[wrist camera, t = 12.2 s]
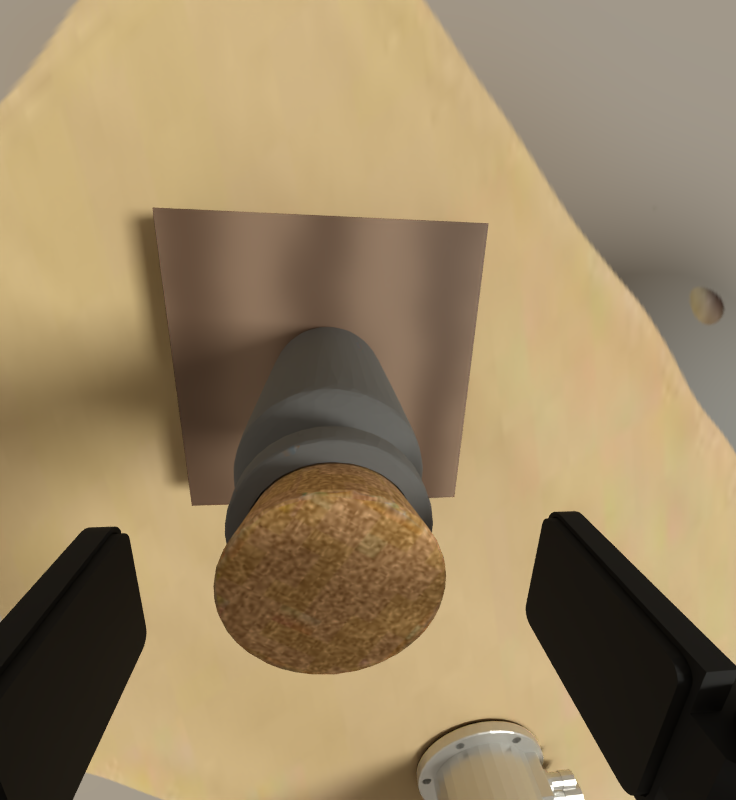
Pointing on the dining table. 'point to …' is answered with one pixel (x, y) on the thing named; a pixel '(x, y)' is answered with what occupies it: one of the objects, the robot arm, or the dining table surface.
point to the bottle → (328, 516)
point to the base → (316, 320)
